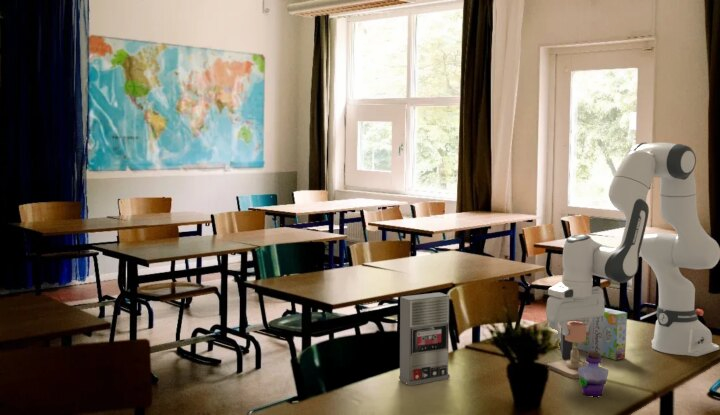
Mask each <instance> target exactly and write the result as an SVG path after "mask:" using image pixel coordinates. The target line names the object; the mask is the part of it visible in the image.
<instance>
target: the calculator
mask: <svg viewBox="0 0 720 415" xmlns="http://www.w3.org/2000/svg"><path fill="white" fill-rule="evenodd" d="M572 321H574V320H572ZM568 322H569V321H568ZM560 333H561V343H560V353H561V354H562V355H561V354H560V355H561V358H562V360H571V350H573V347H574V342H569V341H567V340H565V335H563V334H562V328H561V327H560Z"/></svg>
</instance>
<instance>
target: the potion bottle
mask: <svg viewBox="0 0 720 415" xmlns="http://www.w3.org/2000/svg"><path fill="white" fill-rule="evenodd" d="M585 362H586V363H588V365H587V366H581V367H579V368H578V373H579V384H580V385H581V389H582V395H583V396H586V397H587V396H593V397H592V398H594V397H597V398H599V397H598V396H602V397H603V391H604V388H605V384H606V382H607V380H608V375H609V369H607V368H604V367H602V366H599V364H601V363H602V356H600V353H599V352H594V351H589V352H587V354H586V356H585Z"/></svg>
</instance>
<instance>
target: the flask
mask: <svg viewBox="0 0 720 415" xmlns="http://www.w3.org/2000/svg"><path fill="white" fill-rule="evenodd" d="M547 326H549V327H551V328H552V329H555V330H557V331H558V334H556V335H554V337H553V338H554V340H555V339H556V338H558V337H560V338H561V328H560V325H559V322H557V323H555V322H551V321H549V320H548V323H547ZM559 344H561V341H560V343H559Z"/></svg>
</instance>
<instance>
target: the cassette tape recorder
mask: <svg viewBox="0 0 720 415" xmlns="http://www.w3.org/2000/svg"><path fill="white" fill-rule="evenodd" d="M399 299H400V301H399V302H400V306H399V309H400V310H399V313H400V315H399V317H400V320H399V323H400V324H399V328H400V329H399V376H398V380H399V379H400V380H399V381H401V380H402V381H404V382H405V383H404V382H403V383H404V384H406V383H407V384H406V385H408V386H409V385H412V386H415V385H420V384H425V383H426V384H427V383H431V382H437V381H443V380H449V379H450V378H451V376H450V374H449V344H450V343H449V341H450V340H449V338H450V337H449V335H450V333H449V330H450V325H449V324H450V294H445V293H443V292H432V293H423V294H421V293H420V294H413V295H405V296H400V297H399ZM402 381H401V382H402Z"/></svg>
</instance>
